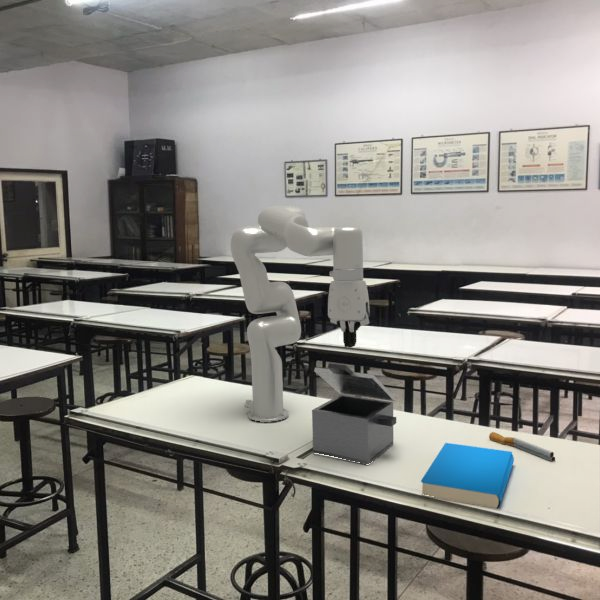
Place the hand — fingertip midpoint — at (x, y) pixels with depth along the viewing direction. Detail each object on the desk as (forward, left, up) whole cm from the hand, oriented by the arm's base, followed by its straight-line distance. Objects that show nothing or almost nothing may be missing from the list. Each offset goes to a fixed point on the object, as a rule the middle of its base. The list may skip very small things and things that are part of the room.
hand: (350, 346), depth 158 cm
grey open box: (+1, +2, -29) cm, 29 cm away
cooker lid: (0, +1, -10) cm, 11 cm away
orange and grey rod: (+38, +23, -29) cm, 53 cm away
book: (+32, -2, -29) cm, 43 cm away
